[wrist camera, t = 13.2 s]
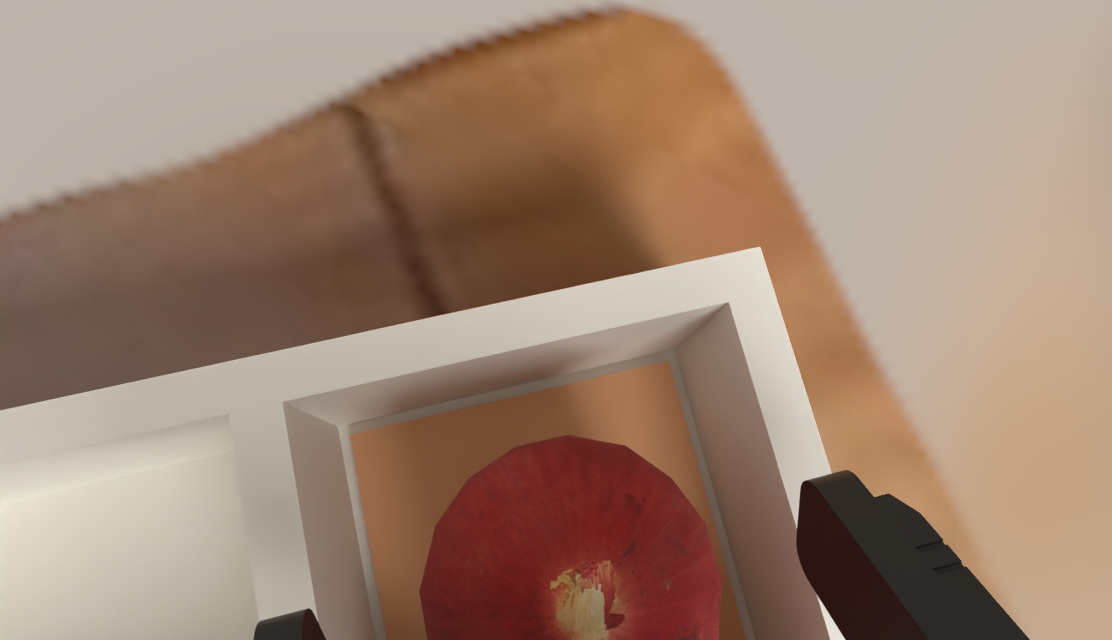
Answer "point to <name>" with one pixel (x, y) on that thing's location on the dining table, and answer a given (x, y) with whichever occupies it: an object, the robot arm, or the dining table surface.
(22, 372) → the dining table surface
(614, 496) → the onion
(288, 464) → the compartment tray
